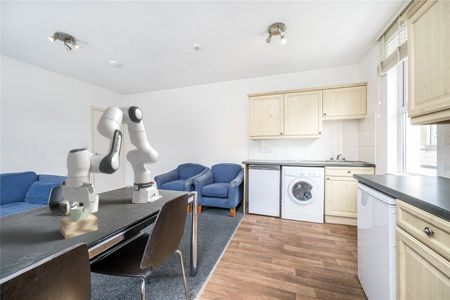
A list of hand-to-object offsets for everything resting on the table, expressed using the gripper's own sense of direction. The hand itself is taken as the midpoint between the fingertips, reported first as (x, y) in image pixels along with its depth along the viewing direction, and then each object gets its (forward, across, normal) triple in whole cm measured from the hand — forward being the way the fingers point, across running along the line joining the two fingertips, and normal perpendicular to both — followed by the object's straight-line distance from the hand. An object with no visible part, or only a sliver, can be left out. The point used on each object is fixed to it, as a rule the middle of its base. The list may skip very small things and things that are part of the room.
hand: (79, 210), depth 88 cm
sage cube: (+4, 0, 0) cm, 4 cm away
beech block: (+10, 0, 0) cm, 10 cm away
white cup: (+10, +22, -19) cm, 31 cm away
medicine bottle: (+10, +33, -13) cm, 37 cm away
